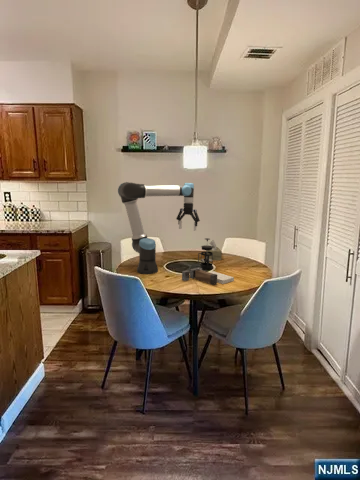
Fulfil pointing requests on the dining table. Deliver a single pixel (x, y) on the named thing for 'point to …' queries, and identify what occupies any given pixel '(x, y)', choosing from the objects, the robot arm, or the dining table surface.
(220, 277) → the table-top board
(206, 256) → the french press
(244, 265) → the dining table surface
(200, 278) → the bar
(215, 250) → the tissue box
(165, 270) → the dining table surface
